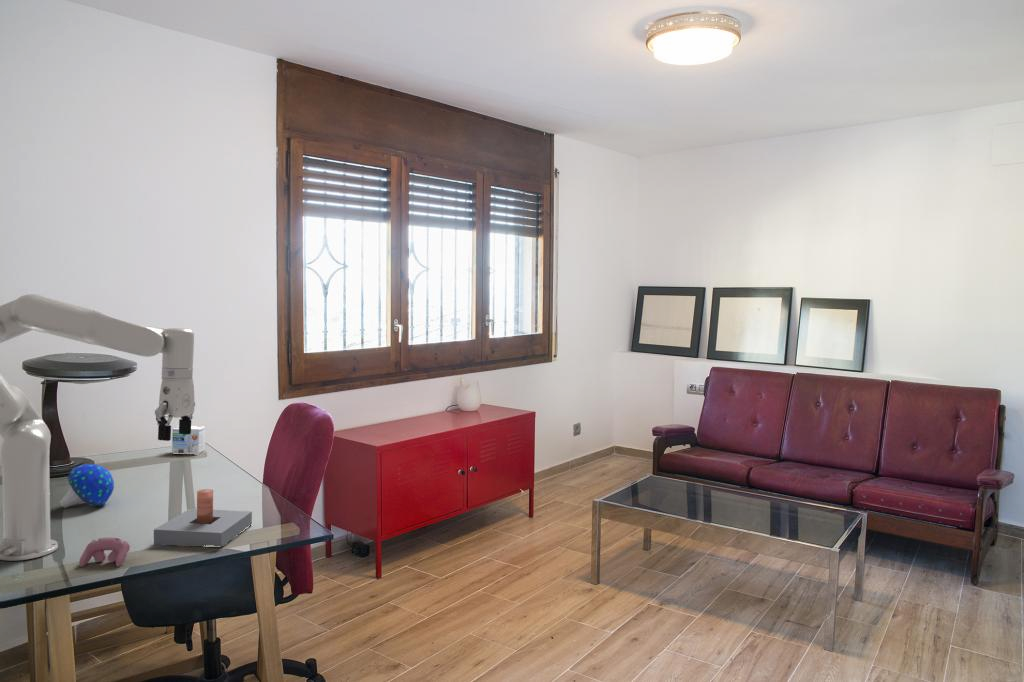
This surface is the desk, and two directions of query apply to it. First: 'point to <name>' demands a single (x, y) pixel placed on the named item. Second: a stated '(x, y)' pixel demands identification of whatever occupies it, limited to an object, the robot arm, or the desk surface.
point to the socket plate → (202, 528)
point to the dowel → (205, 506)
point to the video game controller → (100, 546)
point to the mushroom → (88, 486)
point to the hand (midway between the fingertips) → (174, 437)
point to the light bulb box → (188, 440)
